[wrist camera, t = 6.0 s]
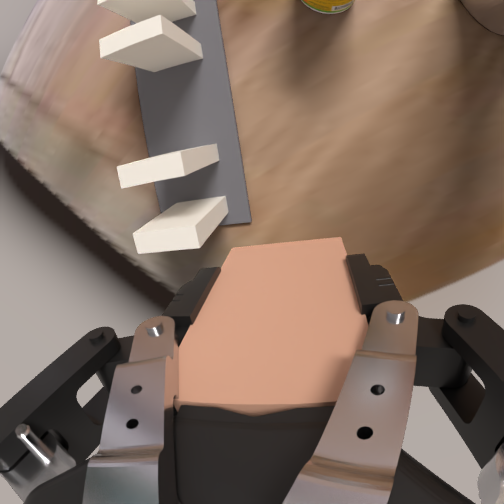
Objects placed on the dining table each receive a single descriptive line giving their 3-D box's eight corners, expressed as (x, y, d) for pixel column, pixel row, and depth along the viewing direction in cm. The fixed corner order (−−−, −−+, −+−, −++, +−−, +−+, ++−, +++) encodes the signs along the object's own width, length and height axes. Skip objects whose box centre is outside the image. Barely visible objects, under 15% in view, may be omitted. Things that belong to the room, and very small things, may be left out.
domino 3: (167, 153, 27) (116, 166, 19) (216, 143, 26) (180, 151, 18) (170, 169, 28) (121, 188, 20) (219, 160, 27) (184, 175, 19)
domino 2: (152, 58, 24) (99, 39, 16) (200, 43, 23) (160, 14, 15) (154, 72, 24) (100, 57, 16) (203, 58, 23) (162, 33, 15)
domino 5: (231, 247, 14) (152, 397, 6) (340, 236, 13) (385, 395, 5) (238, 278, 15) (175, 436, 7) (342, 269, 14) (376, 436, 6)
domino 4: (177, 202, 29) (132, 233, 21) (225, 195, 28) (194, 225, 20) (180, 218, 30) (138, 253, 22) (228, 212, 29) (199, 248, 21)
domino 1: (147, 17, 22) (97, -10, 14) (194, 1, 21) (155, -36, 13) (149, 29, 23) (97, 4, 14) (196, 14, 22) (156, -22, 13)
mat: (131, 15, 22) (129, 15, 22) (214, -11, 21) (213, -13, 20) (166, 230, 31) (165, 231, 31) (251, 220, 29) (251, 222, 29)
